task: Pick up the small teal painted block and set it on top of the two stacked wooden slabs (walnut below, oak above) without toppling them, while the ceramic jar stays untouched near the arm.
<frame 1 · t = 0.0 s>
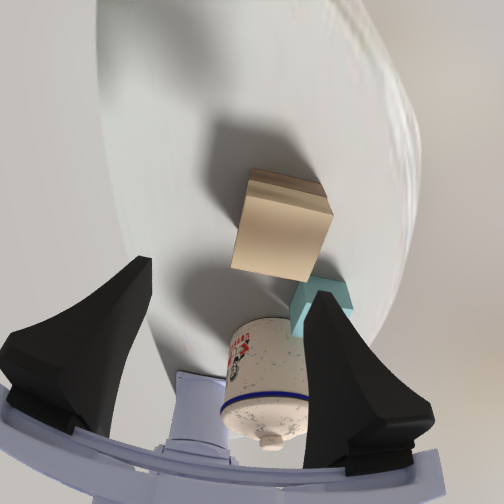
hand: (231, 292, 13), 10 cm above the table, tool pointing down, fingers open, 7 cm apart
teal block: (316, 294, 26), on the table
oak slab upper: (278, 222, 20), point 2 cm above the table, touching walnut slab lower
ceramic jar: (270, 350, 31), on the table
walnut slab lower: (278, 205, 22), on the table, touching oak slab upper
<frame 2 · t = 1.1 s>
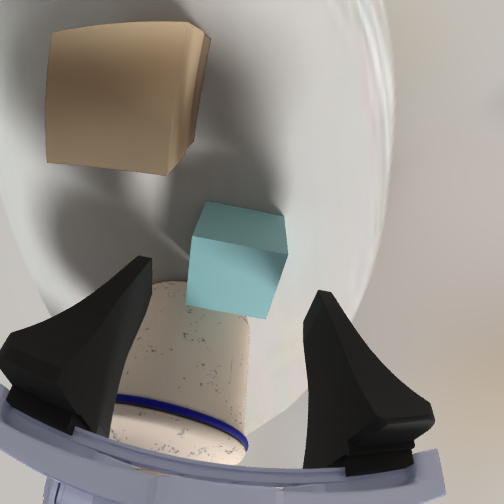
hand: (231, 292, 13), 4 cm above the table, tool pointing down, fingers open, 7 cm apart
teal block: (238, 240, 16), on the table
oak slab upper: (132, 89, 10), point 2 cm above the table, touching walnut slab lower
ceramic jar: (190, 336, 21), on the table
walnut slab lower: (151, 85, 12), on the table, touching oak slab upper
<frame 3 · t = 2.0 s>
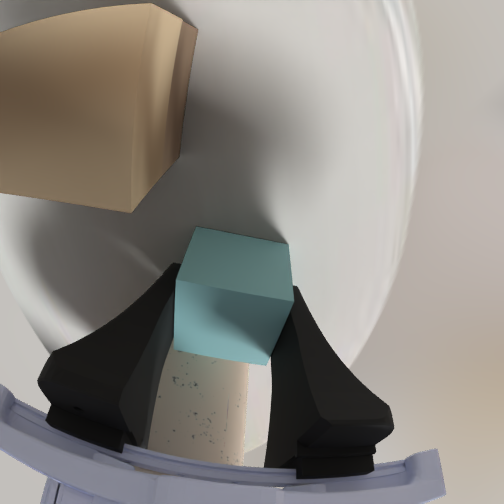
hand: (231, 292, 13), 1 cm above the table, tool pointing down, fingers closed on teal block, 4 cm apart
teal block: (234, 271, 14), on the table, touching gripper
oak slab upper: (95, 96, 7), point 2 cm above the table
ceramic jar: (184, 364, 19), on the table
walnut slab lower: (127, 89, 9), on the table
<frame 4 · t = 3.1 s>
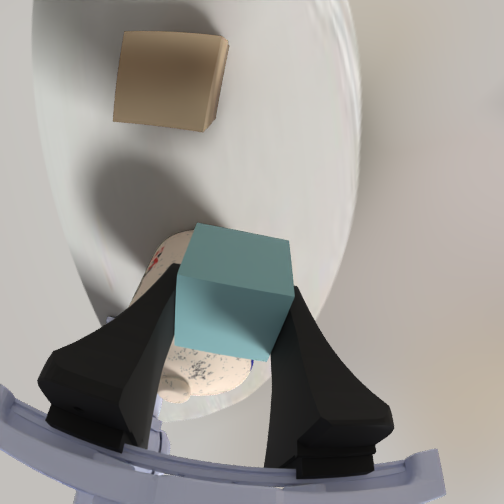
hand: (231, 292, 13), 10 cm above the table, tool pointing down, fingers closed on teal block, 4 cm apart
teal block: (235, 267, 14), point 8 cm above the table, touching gripper
oak slab upper: (176, 76, 14), point 2 cm above the table, touching walnut slab lower
ceramic jar: (203, 284, 26), on the table
when the fingers open (8 cm above the table, at t = 4.6 s): teal block drops 1 cm, point 5 cm above the table.
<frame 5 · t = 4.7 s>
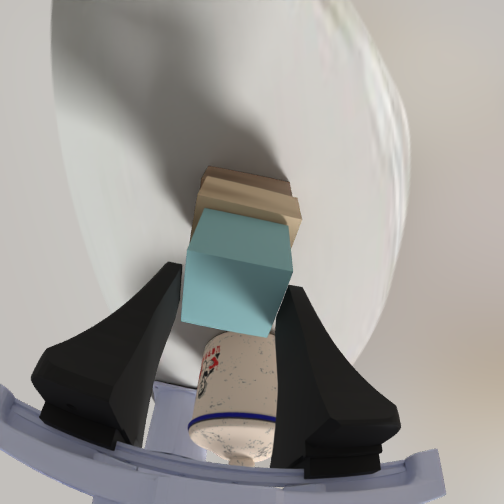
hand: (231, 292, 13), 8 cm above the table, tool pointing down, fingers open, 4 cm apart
teal block: (238, 251, 15), point 5 cm above the table
oak slab upper: (242, 225, 17), point 2 cm above the table, touching walnut slab lower
ceramic jar: (247, 362, 29), on the table
walnut slab lower: (241, 207, 19), on the table, touching oak slab upper
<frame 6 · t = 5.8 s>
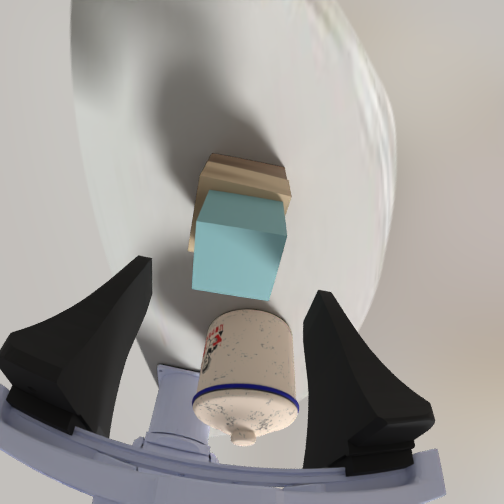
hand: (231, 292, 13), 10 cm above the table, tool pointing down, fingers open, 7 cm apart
teal block: (240, 227, 17), point 5 cm above the table
oak slab upper: (239, 205, 19), point 2 cm above the table, touching walnut slab lower
ceramic jar: (248, 343, 31), on the table
walnut slab lower: (241, 191, 21), on the table, touching oak slab upper
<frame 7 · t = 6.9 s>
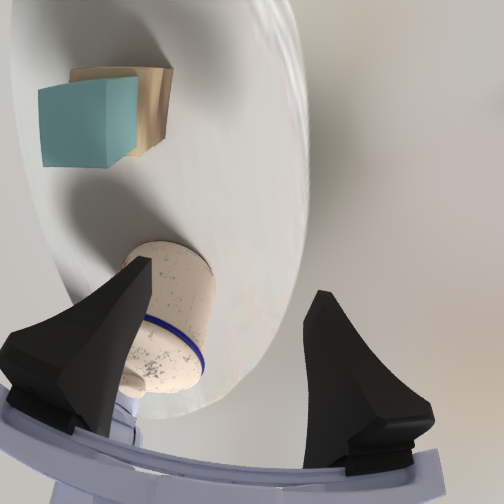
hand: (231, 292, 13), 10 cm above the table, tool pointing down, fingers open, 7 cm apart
teal block: (105, 112, 14), point 5 cm above the table, touching oak slab upper
oak slab upper: (121, 104, 15), point 2 cm above the table, touching teal block
ceramic jar: (171, 289, 27), on the table
walnut slab lower: (136, 101, 18), on the table
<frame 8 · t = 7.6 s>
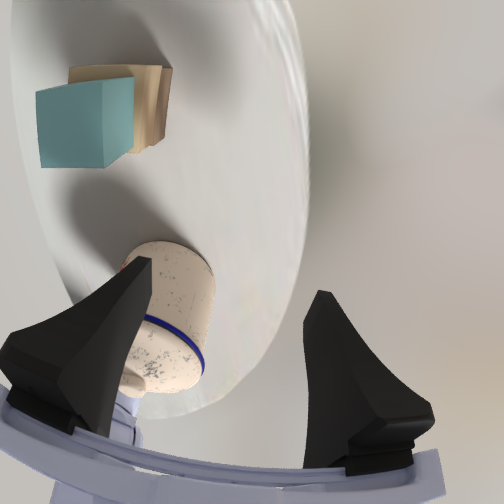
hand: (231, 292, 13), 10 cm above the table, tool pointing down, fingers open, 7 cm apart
teal block: (102, 113, 14), point 5 cm above the table, touching oak slab upper
oak slab upper: (120, 102, 15), point 2 cm above the table, touching teal block, walnut slab lower
ceramic jar: (171, 289, 27), on the table
walnut slab lower: (136, 100, 18), on the table, touching oak slab upper
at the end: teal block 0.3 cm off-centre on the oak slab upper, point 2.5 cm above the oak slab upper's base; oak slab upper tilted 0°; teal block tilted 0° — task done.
